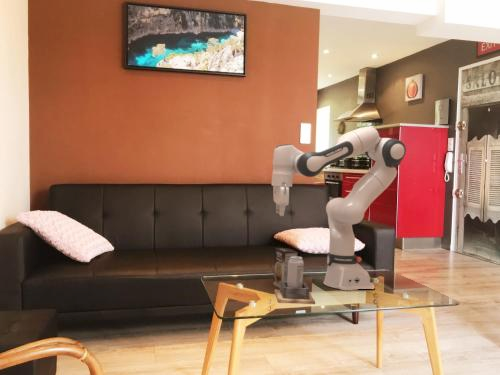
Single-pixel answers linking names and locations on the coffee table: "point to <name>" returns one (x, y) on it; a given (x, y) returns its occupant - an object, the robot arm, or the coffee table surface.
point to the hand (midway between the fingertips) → (280, 214)
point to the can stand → (294, 294)
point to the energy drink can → (295, 272)
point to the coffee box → (282, 264)
